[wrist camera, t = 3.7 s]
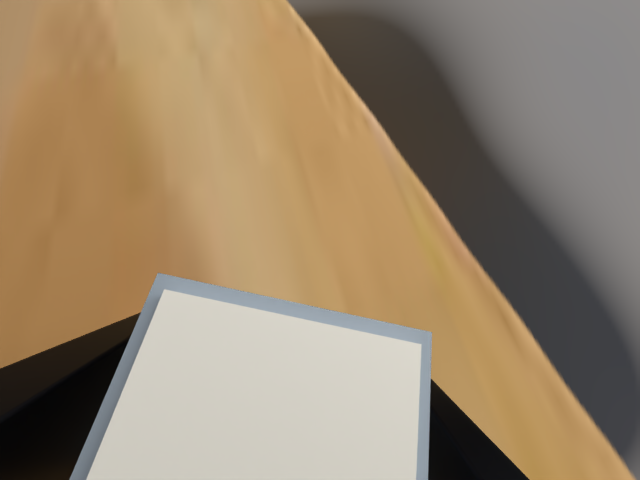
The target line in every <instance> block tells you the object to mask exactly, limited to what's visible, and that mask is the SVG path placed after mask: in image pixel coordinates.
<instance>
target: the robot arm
mask: <svg viewBox="0 0 640 480" xmlns="http://www.w3.org/2000/svg"><path fill="white" fill-rule="evenodd" d="M140 314H141V313H138V314H136V315H133V316H131V317H128V318H126V319H123V320H121V321H118V322H116V323H113V324H111V325H108V326H106V327H103V328H101V329H98V330H96V331H93V332H91V333H88V334H86V335H83V336H81V337H78V338H76V339H73V340H71V341H68V342H66V343H63V344H61V345H58V346H56V347H53V348H51V349H48V350H46V351H43V352H41V353H38V354H36V355H33V356H31V357H28V358H26V359H23V360H21V361H18V362H16V363H13V364H11V365H8V366H6V367H3V368H1V369H0V480H69V479H70V477H71V475H72V472H73V470H74V468H75V465H76V463H77V461H78V458H79V456H80V454H81V451H82V449H83V447H84V444H85V442H86V440H87V437H88V435H89V433H90V430H91V428H92V426H93V423H94V421H95V419H96V416H97V414H98V412H99V409H100V407H101V405H102V402H103V400H104V398H105V395H106V393H107V391H108V388H109V386H110V384H111V381H112V379H113V377H114V374H115V372H116V370H117V367H118V365H119V363H120V360H121V358H122V356H123V353H124V351H125V349H126V346H127V344H128V342H129V339H130V337H131V335H132V332H133V330H134V328H135V325H136V323H137V321H138V318H139V316H140ZM428 480H529V479H528V478H527V477H526V476H525V475H524V474H523V473H522V471H521V470H520V469H519V468H518V467H517V466H516V465H515V464H514V463H513V462H512V461H511V460H510V459H509V458H508V457H507V456H506V455H505V454H504V453H503V452H502V451H501V450H500V449H499V448H498V447H497V446H496V445H495V444H494V443H493V442H492V441H491V440H490V439H489V438H488V437H487V436H486V435H485V434H484V433H483V432H482V430H481V429H480V428H479V427H478V426H477V425H476V424H475V423H474V422H473V421H472V420H471V419H470V418H469V417H468V416H467V415H466V414H465V413H464V412H463V411H462V410H461V409H460V408H459V407H458V406H457V405H456V404H455V403H454V402H453V401H452V400H451V399H450V398H449V397H448V396H447V395H446V394H445V393H444V392H443V390H442V389H441V388H440V387H439V386H438V385H437V384H436V383H435V382H434V381H433V380H432V379H431V384H430V422H429V460H428Z"/></svg>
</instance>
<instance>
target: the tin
mask: <svg viewBox="0 0 640 480" xmlns="http://www.w3.org/2000/svg"><path fill="white" fill-rule="evenodd" d="M431 347H432V332H429V331H424V330H419V329H415V328H410V327H405V326H401V325H396V324H392V323H387V322H382V321H378V320H373V319H369V318H364V317H359V316H355V315H350V314H346V313H341V312H336V311H332V310H327V309H322V308H318V307H313V306H309V305H304V304H299V303H295V302H290V301H286V300H281V299H276V298H272V297H267V296H262V295H258V294H253V293H249V292H244V291H239V290H235V289H230V288H226V287H221V286H216V285H212V284H207V283H203V282H198V281H193V280H189V279H184V278H179V277H175V276H170V275H166V274H161V273H158V274H157V276H156V279H155V281H154V283H153V286H152V288H151V290H150V293H149V295H148V297H147V300H146V302H145V304H144V307H143V309H142V311H141V314H140V316H139V318H138V321H137V323H136V325H135V328H134V330H133V332H132V335H131V337H130V339H129V342H128V344H127V346H126V349H125V351H124V353H123V356H122V358H121V360H120V363H119V365H118V367H117V370H116V372H115V374H114V377H113V379H112V381H111V384H110V386H109V388H108V391H107V393H106V395H105V398H104V400H103V402H102V405H101V407H100V409H99V412H98V414H97V416H96V419H95V421H94V423H93V426H92V428H91V430H90V433H89V435H88V437H87V440H86V442H85V444H84V447H83V449H82V451H81V454H80V456H79V458H78V461H77V463H76V465H75V468H74V470H73V472H72V475H71V477H70V479H69V480H428V460H429V422H430V384H431Z"/></svg>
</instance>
